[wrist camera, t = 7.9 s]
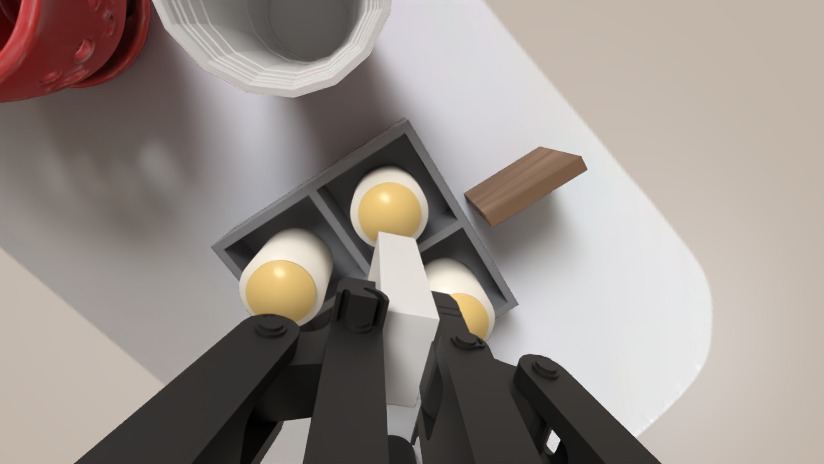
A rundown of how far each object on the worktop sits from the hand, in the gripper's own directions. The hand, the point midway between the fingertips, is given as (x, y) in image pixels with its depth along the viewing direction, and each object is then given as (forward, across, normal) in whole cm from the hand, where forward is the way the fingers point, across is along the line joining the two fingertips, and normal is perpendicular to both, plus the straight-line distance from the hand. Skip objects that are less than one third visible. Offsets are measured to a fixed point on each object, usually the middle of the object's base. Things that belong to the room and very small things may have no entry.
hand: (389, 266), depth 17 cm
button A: (+13, -5, -6) cm, 15 cm away
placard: (+17, +9, +3) cm, 19 cm away
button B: (+15, +1, 0) cm, 15 cm away
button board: (+17, +1, -6) cm, 18 cm away
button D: (+12, +6, -6) cm, 15 cm away
